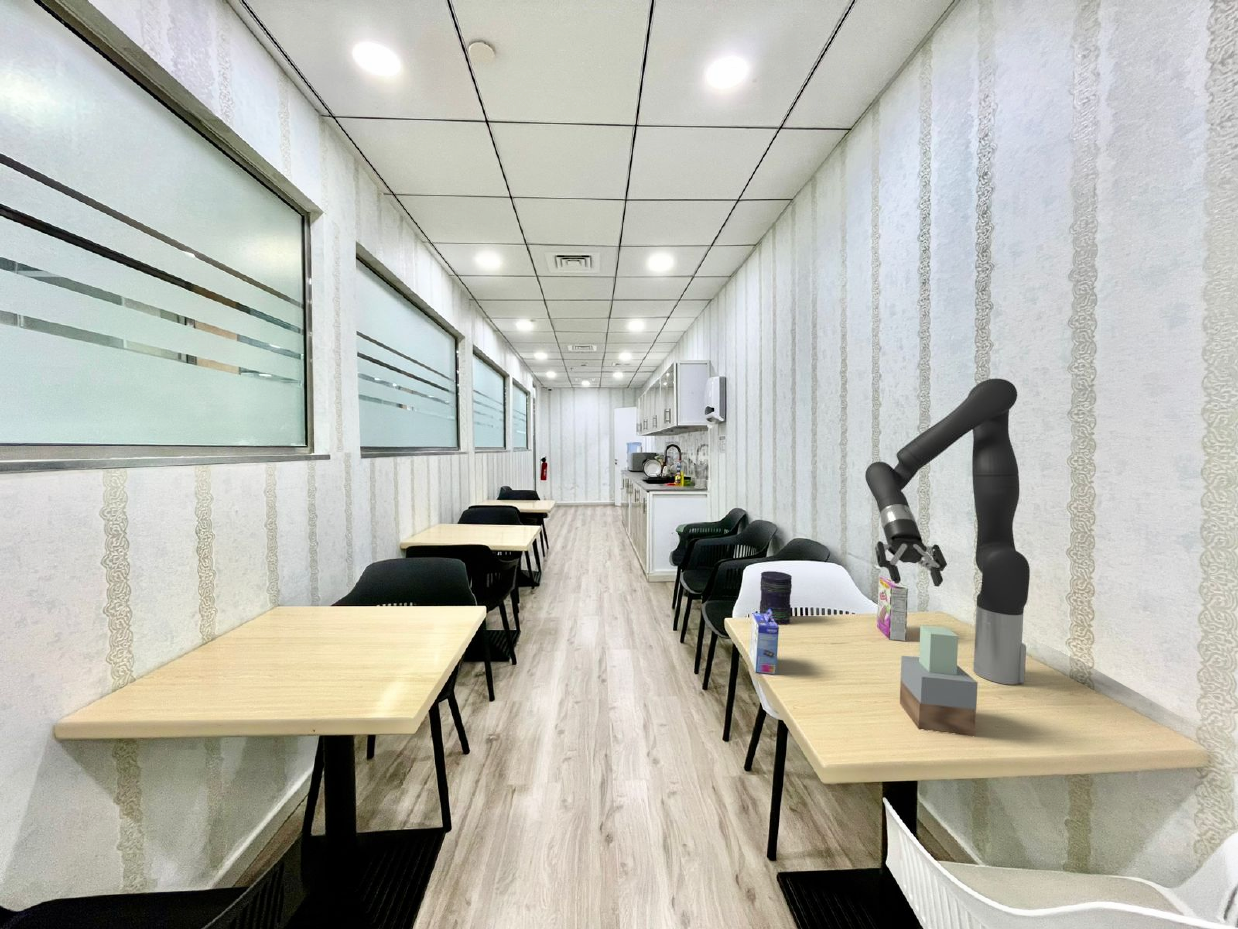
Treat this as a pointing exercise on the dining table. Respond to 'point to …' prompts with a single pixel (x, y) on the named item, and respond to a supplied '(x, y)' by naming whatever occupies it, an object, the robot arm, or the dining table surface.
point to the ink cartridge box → (764, 643)
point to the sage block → (938, 649)
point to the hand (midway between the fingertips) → (918, 583)
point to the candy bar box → (892, 609)
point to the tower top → (938, 685)
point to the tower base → (937, 715)
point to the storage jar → (776, 595)
